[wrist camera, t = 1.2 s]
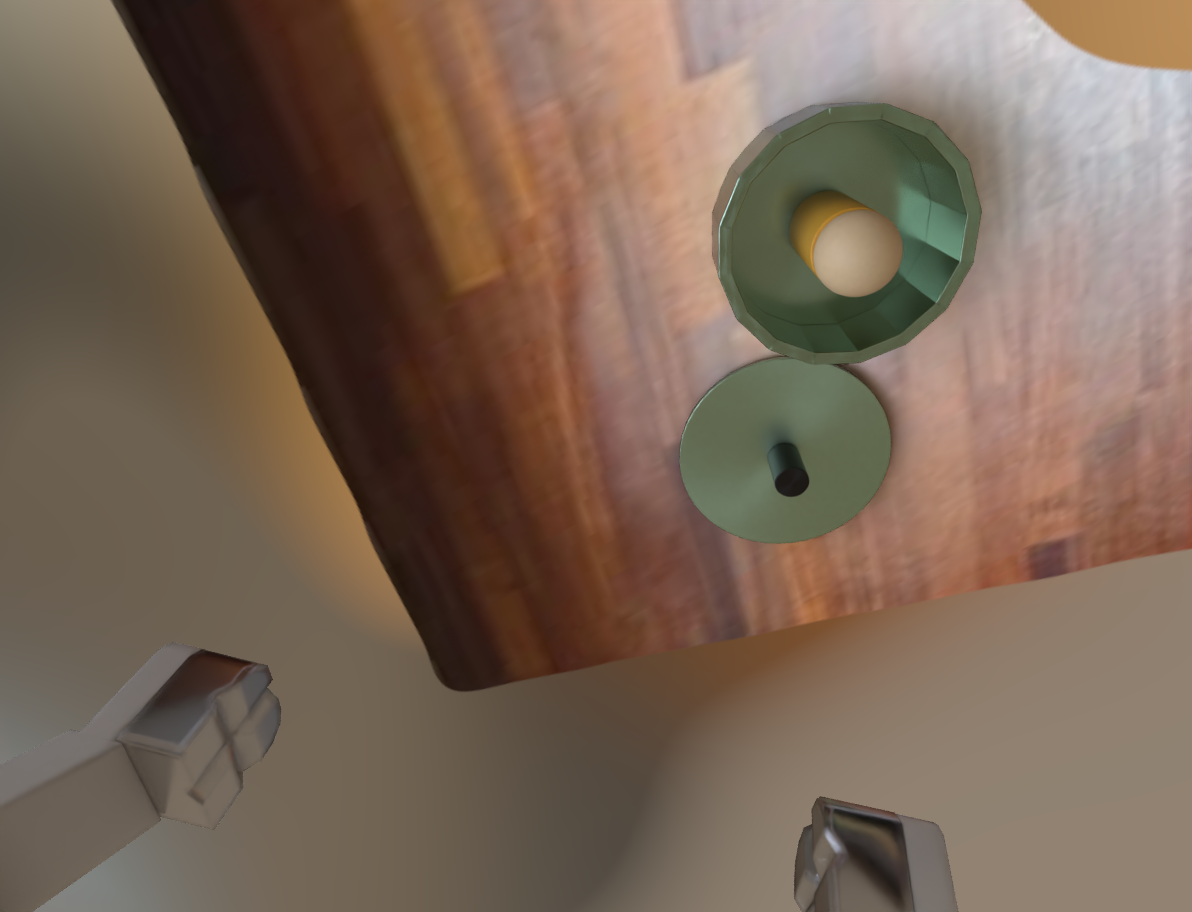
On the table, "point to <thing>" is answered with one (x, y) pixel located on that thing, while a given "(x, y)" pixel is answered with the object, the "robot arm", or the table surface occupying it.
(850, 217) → the toy
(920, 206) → the pot
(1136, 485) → the table surface
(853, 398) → the lid
